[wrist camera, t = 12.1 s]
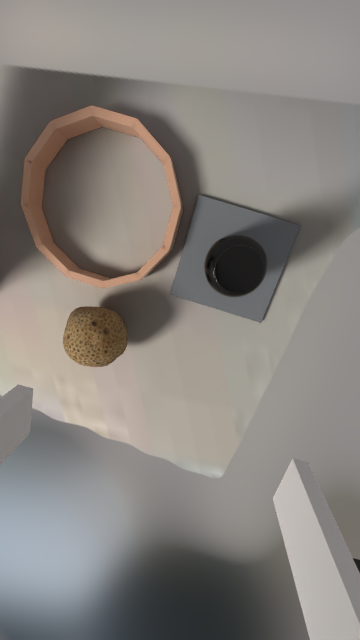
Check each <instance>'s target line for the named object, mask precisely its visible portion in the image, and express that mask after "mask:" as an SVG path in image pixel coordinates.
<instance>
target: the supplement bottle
mask: <svg viewBox="0 0 360 640" xmlns="http://www.w3.org/2000/svg"><path fill="white" fill-rule="evenodd" d="M267 267H268V262H267V256H266V253H265V251H264V249H263V247H262V246H261V245H260V244H259V243H258V242H257V241H256V240H255V239H253V238H251V237H249V236H246V235H241V234H233V235H229V236H225V237H223V238H221V239H219V240H217V241H216V242H215V243H214V244H213V245H212V246H211V248H210V249H209V251H208V253H207V256H206V259H205V265H204V269H205V275H206V278H207V281H208V282H209V284H210V286H211V287H212V288H213V289H214V290H215V291H217V292H218V293H220V294H222V295H224V296H228V297H241V296H245V295H247V294H250V293H251V292H253V291H254V290H256V289H257V288H258V287H259V286H260V284H261V283H262V282H263V280H264V278H265V276H266V272H267Z"/></svg>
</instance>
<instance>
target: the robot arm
mask: <svg viewBox="0 0 360 640" xmlns="http://www.w3.org/2000/svg"><path fill="white" fill-rule="evenodd" d="M32 397H33V388H29V387H25V386H22V385H17V386H16V387H14V388H13V389H12V390H11V391H9V392H8V393H7V394H5V395H4V396H3V397H1V398H0V465H1V464H2V463H3V462H4V460H5V459H6V458H7V457H8V456H9V455H10V454H11V453H12V452H13V451H14V449H15V448H16V447H17V446H18V445H19V444H20V443H21V442H22V441H23V440H24V439H25V437H26V436H27V435H28V434H29V433H30V425H31V411H32ZM273 501H274V505H275V509H276V513H277V516H278V520H279V524H280V528H281V531H282V535H283V539H284V543H285V547H286V550H287V554H288V558H289V562H290V565H291V569H292V573H293V577H294V581H295V584H296V588H297V592H298V595H299V599H300V603H301V607H302V611H303V615H304V618H305V622H306V626H307V629H308V633H309V637H310V640H360V560H358V559H354V558H352V556H351V553H350V551H349V549H348V547H347V545H346V543H345V541H344V539H343V536H342V534H341V532H340V530H339V528H338V526H337V524H336V521H335V519H334V517H333V515H332V513H331V511H330V508H329V506H328V504H327V502H326V500H325V498H324V496H323V494H322V492H321V489H320V487H319V485H318V483H317V481H316V479H315V476H314V474H313V472H312V470H311V468H310V466H309V464H308V462H304V461H300V460H297V459H292V461H291V463H290V465H289V467H288V469H287V471H286V473H285V475H284V477H283V479H282V481H281V483H280V485H279V487H278V489H277V491H276V493H275V495H274V497H273Z"/></svg>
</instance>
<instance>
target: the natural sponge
mask: <svg viewBox="0 0 360 640" xmlns="http://www.w3.org/2000/svg"><path fill="white" fill-rule="evenodd" d="M127 340H128V334H127V328H126V326H125V323H124V321H123V319H122V318H121V317H120V315H119V314H118V313H116V312H115V311H113V310H111V309H108V308H103V307H79V308H77V309H75V310H74V311H73V312H72V313H71V314H70V316H69V318H68V321H67V325H66V328H65V332H64V338H63V344H64V349H65V351H66V353H67V355H68V356H69V357H70V358H71V359H72V360H74V361H75V362H77V363H79V364H81V365H85V366H91V367H102V366H107V365H108V364H110V363H111V362H113V361H114V360H115V359H116V358H117V357H119V356H120V355H121V354H123V352H124V351H125V349H126V347H127Z"/></svg>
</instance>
